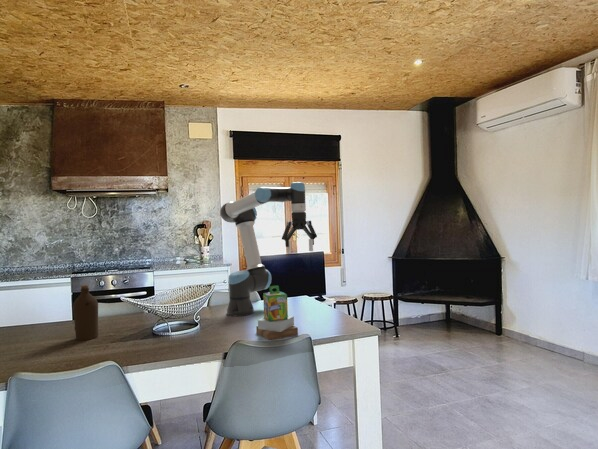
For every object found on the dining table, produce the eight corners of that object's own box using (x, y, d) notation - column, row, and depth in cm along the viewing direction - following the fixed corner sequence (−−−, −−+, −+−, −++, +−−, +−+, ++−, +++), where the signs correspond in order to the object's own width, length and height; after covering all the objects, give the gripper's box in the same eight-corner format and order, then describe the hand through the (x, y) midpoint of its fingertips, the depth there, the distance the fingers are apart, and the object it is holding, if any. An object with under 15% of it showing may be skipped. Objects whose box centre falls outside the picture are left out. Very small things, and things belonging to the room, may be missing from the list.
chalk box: (269, 322, 178) (267, 288, 178) (263, 317, 187) (262, 285, 187) (288, 319, 182) (287, 286, 181) (282, 314, 190) (280, 283, 190)
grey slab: (258, 328, 182) (257, 320, 182) (272, 322, 193) (272, 314, 192) (280, 331, 176) (280, 322, 176) (294, 324, 187) (293, 316, 187)
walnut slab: (256, 334, 187) (256, 326, 187) (282, 329, 194) (282, 321, 194) (270, 342, 175) (270, 333, 175) (297, 336, 182) (297, 327, 182)
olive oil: (104, 335, 193) (102, 283, 192) (85, 342, 183) (82, 287, 183) (89, 333, 197) (86, 283, 197) (69, 340, 188) (66, 286, 187)
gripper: (281, 212, 201) (282, 254, 201) (322, 211, 213) (323, 250, 214) (274, 212, 207) (276, 253, 208) (314, 211, 220) (316, 249, 220)
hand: (300, 252), depth 211 cm, fingers open, 13 cm apart
